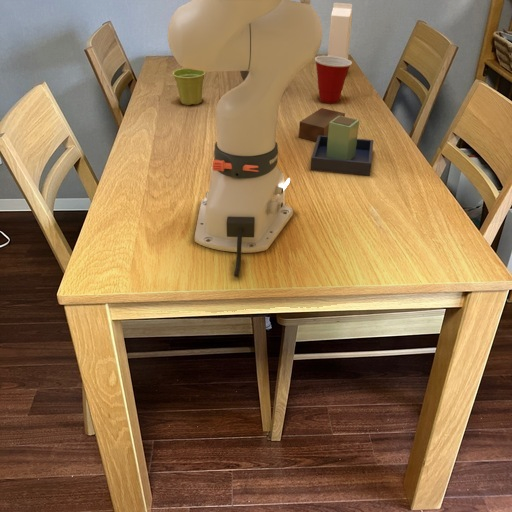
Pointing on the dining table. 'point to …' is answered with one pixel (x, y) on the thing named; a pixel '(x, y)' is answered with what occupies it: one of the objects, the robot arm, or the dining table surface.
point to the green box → (342, 138)
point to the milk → (340, 30)
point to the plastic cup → (331, 77)
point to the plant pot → (189, 85)
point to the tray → (353, 166)
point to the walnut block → (317, 124)
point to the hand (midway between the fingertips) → (294, 10)
